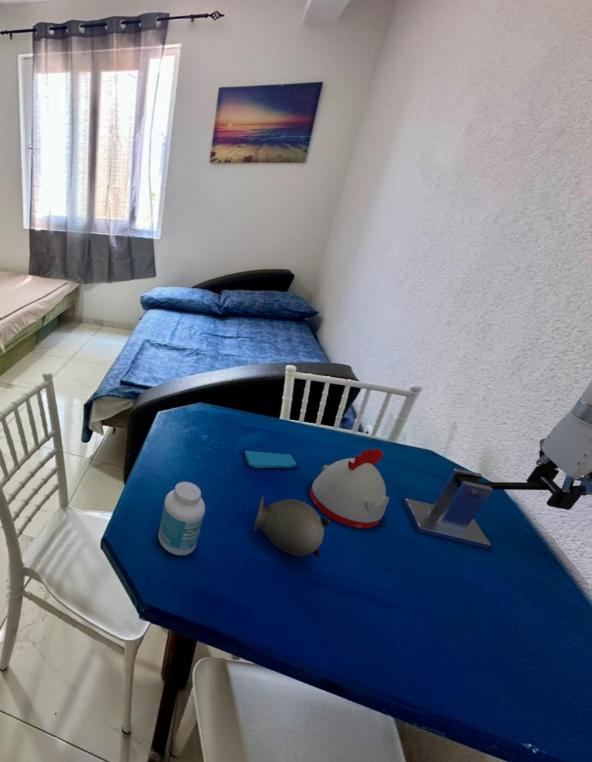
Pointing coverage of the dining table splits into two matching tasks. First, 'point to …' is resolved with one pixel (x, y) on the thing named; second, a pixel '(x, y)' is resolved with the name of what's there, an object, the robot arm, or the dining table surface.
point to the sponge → (269, 460)
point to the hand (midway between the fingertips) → (547, 494)
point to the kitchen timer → (352, 490)
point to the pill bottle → (182, 519)
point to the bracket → (453, 511)
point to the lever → (516, 484)
